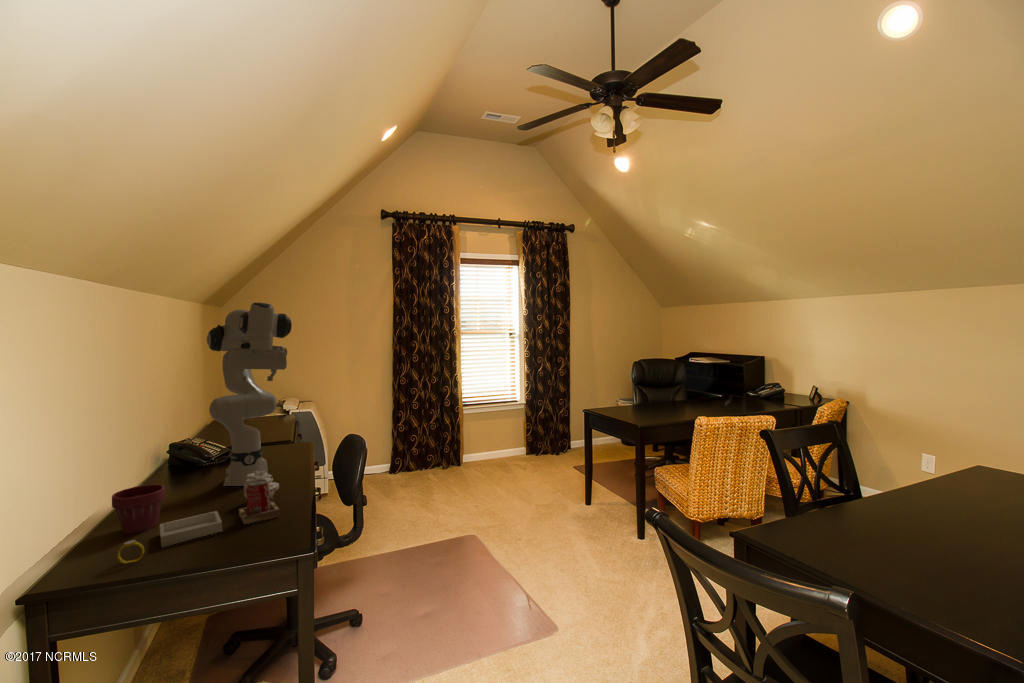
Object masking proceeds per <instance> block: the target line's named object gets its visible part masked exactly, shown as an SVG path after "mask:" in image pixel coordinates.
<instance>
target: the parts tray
mask: <svg viewBox="0 0 1024 683" xmlns="http://www.w3.org/2000/svg"><path fill="white" fill-rule="evenodd" d="M218 532H223V522H222V519H221V517H220V514H219V512H218V510H215V511H210V512H206V513H201V514H197V515H193V516H189V517H184V518H181V519H175V520H171V521H166V522H163V523H160V524H159V536H160V547H161V549H163V548H167V546H168V547H171V546H170V545H172V546H174V545H173V544H176V543H179V542H183V541H186V540H190V539H194V538H198V537H202V536H206V535H209V534H214V533H218ZM176 545H177V544H176Z"/></svg>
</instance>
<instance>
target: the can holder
mask: <svg viewBox="0 0 1024 683" xmlns="http://www.w3.org/2000/svg"><path fill="white" fill-rule="evenodd" d="M280 510H281V509H280V508H279V506H277V505H276V503H275V502H274V500H270V511H266V512H262V513H258V514H254V515H250V516H248V508H247V506H246V507H241V508H238V517H239V518H240V520H241V522H242V521H243V522H242V523H244V524H243V525H244V526H246V525H245V524H248V525H251V524H250V523H252V524H254V522H256V523H259V522H263V521H267V520H272V519H275V518H279V517H281V512H280ZM266 519H267V520H266ZM262 520H263V521H262ZM258 521H259V522H258Z"/></svg>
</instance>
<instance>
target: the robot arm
mask: <svg viewBox="0 0 1024 683" xmlns="http://www.w3.org/2000/svg"><path fill="white" fill-rule="evenodd" d="M224 320H225V321H224V325H221V324H218V325H217V326H215V327H213V328H212V329H210V330H209V331H208V332H207V333H208V334H207V337H206V343H207V346H208V348H209V350H211V351H215V352H225V353H224V354H223V356H222V364H221V365H222V366H221V367H222V374H223V379H224V384H225V388H226V389H227V390H228V391H229V392H230V393H233V394H230V395H224V396H220V397H217V398H213V400H212V401H211V403H210V405H209V408H208V409H209V410H208V411H209V414H210V416H211V418H212V419H213V420H214V421H216V422H218V423H219V424H221V425H222V426H224V428H225V429H226V430H227V431H228V433H229V436H230V441H231V444H230V445H231V453H230V460H231V462H230V464H229V466H227V467H228V468H225V475H226V477H225V479H224V482H223V486H244V483H246V480H247V475H249V474H251V473H255V471H259V473H260V472H261V471H265V472H266V473H268V476H267V477H268V478H270V477H272V478H273V475H272V474H270V473H269V472H268V464H267V463H268V462H267V460H266V459H265V458H263V456H264V455H263V454H264V453H263V448H262V445H261V442H262V440H261V433H260V432H261V431H260V430H259V429H258V428H256V427H254V426H251V425H248V424H245V422H244V420H246V419H254V418H262V417H266V416H269V415H271V414H273V413H274V412H275V411H276V410H277V409H276V408H277V406H278V401H277V398H276V396H275V395H274V394H273V393H272V392H269V391H266V390H265V389H263V388H262V387H260V386H259V385H258V384H257V383H256V381H255V379H254V375H253V372H252V370H270V372H271V373H270V375H269V376H267V378H266V379H267V382H273V380H274V377H275V375H276V374H277V371H279V370H283V371H284V370H286V368H287V366H288V364H287V363H288V362H287V361H288V360H287V355H288V349H287V348H286V347H285V346H283V345H273V342H274V338H278V339H284V338H285V337H287V336H288V335H289V334H290V333H291V331H292V327H293V326H292V324H293V323H292V320H291V318H290V317H289V316H288V315H287V314H286V313H275V309H274V306H273V305H272V304H270V303H265V302H252V303H251V305H250V308H249V310H247V309H235V310H232V311H230V312H229V313H228V314H227V315H226V317H225V319H224ZM267 477H266V478H267ZM254 481H255V479H254Z"/></svg>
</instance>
